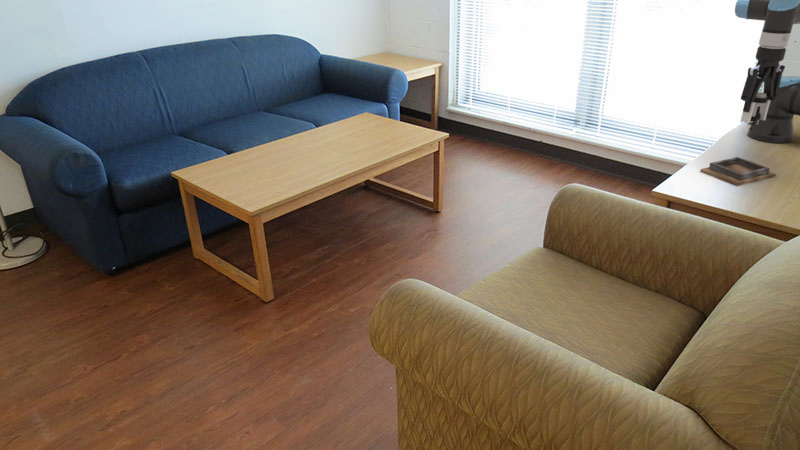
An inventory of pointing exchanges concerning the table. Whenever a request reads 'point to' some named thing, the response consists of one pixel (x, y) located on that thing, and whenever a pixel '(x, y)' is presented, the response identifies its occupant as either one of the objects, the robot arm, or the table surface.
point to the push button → (757, 108)
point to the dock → (737, 171)
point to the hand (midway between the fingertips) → (752, 120)
